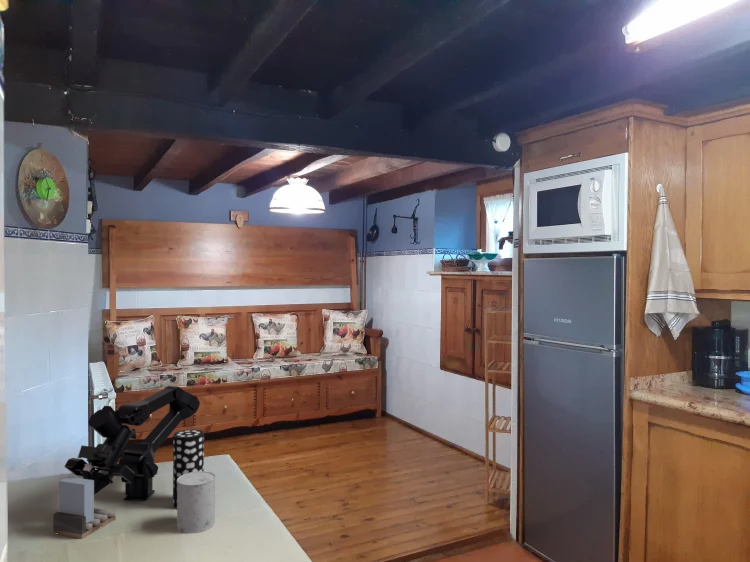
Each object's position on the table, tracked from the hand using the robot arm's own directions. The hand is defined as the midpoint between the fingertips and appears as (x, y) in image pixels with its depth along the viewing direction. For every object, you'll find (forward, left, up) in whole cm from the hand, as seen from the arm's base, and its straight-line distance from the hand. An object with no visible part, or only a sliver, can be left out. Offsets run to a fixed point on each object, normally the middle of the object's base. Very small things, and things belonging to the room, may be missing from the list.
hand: (82, 502), depth 139 cm
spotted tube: (-21, -16, -7) cm, 28 cm away
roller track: (0, -1, -7) cm, 7 cm away
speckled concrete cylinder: (-28, -3, -7) cm, 29 cm away
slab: (0, +2, -4) cm, 4 cm away
